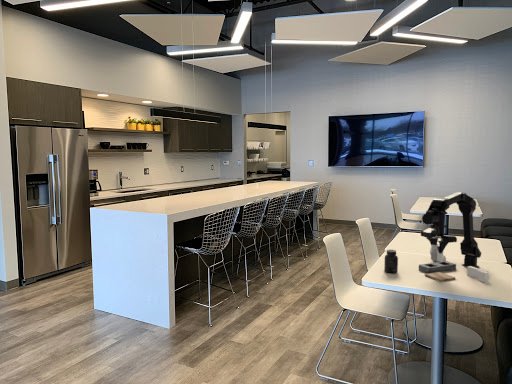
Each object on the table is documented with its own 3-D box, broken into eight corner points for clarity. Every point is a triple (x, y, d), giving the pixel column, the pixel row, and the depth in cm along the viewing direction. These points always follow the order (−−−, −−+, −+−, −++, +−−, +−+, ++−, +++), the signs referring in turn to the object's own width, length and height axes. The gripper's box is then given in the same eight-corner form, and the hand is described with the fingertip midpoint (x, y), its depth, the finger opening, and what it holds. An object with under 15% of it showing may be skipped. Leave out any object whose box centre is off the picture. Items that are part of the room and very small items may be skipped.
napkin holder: (462, 274, 204) (462, 264, 203) (486, 276, 200) (487, 266, 199) (467, 283, 190) (467, 272, 189) (493, 285, 186) (494, 274, 185)
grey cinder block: (445, 266, 218) (445, 261, 217) (456, 269, 211) (456, 264, 211) (418, 270, 210) (418, 264, 210) (428, 273, 204) (428, 268, 203)
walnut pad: (439, 273, 203) (439, 272, 203) (455, 279, 194) (455, 277, 194) (425, 276, 200) (425, 274, 200) (440, 281, 190) (440, 279, 190)
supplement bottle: (382, 270, 209) (382, 249, 208) (394, 270, 210) (394, 248, 209) (387, 274, 203) (388, 252, 202) (399, 274, 203) (400, 252, 202)
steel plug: (436, 258, 202) (437, 243, 201) (442, 260, 198) (443, 245, 198) (430, 259, 201) (431, 244, 200) (436, 261, 197) (437, 246, 196)
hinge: (442, 265, 220) (437, 248, 221) (434, 266, 222) (428, 250, 223) (445, 258, 234) (440, 242, 235) (437, 260, 237) (432, 244, 238)
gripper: (413, 220, 204) (412, 249, 205) (441, 226, 186) (439, 258, 188) (429, 220, 208) (428, 248, 209) (458, 225, 190) (456, 256, 192)
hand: (437, 252), depth 199 cm, fingers closed on steel plug, 4 cm apart
